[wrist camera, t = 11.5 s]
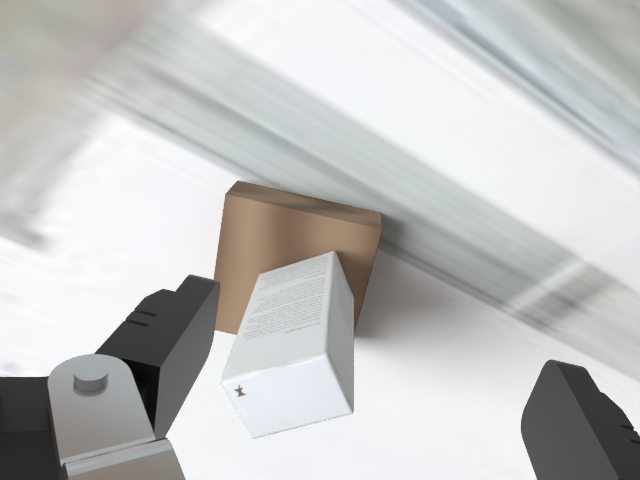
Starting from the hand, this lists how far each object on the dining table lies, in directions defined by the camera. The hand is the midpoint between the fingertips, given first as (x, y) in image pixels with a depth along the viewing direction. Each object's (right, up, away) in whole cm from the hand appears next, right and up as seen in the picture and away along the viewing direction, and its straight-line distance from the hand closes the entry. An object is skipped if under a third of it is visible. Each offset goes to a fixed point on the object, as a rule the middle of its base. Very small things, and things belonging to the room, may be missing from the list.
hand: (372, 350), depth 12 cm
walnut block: (-3, +1, +28) cm, 29 cm away
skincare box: (-2, 0, +25) cm, 25 cm away
